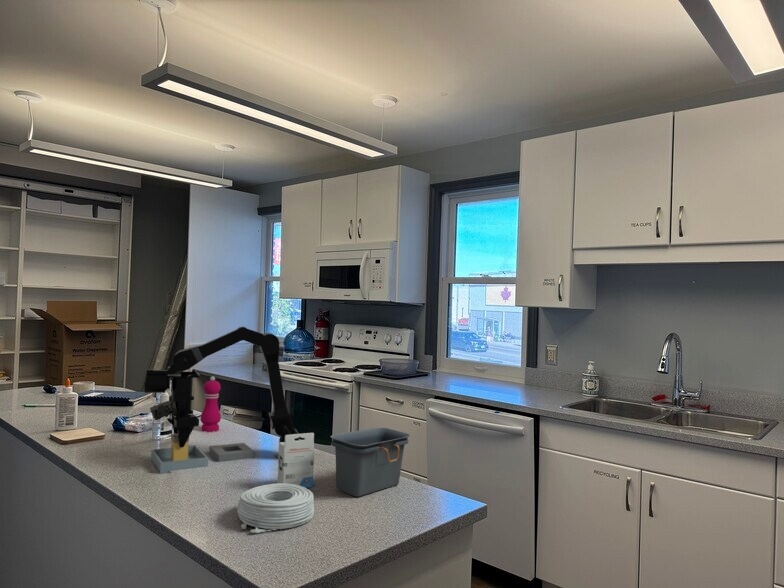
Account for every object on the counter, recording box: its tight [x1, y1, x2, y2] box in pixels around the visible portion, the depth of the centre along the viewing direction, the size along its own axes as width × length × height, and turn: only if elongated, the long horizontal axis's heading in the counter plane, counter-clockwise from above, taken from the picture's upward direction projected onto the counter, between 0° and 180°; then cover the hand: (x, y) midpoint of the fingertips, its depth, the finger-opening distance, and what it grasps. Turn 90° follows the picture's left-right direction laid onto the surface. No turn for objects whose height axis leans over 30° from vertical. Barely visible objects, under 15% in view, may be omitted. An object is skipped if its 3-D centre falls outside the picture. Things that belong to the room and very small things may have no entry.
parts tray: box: [150, 445, 209, 475], centre depth 166 cm, size 15×13×3 cm
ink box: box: [277, 432, 315, 489], centre depth 151 cm, size 9×5×15 cm, turn 117°
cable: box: [236, 482, 315, 534], centre depth 130 cm, size 18×18×6 cm
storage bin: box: [329, 427, 411, 497], centre depth 152 cm, size 21×16×14 cm
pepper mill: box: [199, 375, 222, 433], centre depth 208 cm, size 7×7×20 cm
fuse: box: [170, 433, 190, 461], centre depth 166 cm, size 4×4×8 cm
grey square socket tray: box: [208, 442, 256, 463], centre depth 176 cm, size 11×11×2 cm
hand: (179, 445), depth 166 cm, fingers open, 5 cm apart
